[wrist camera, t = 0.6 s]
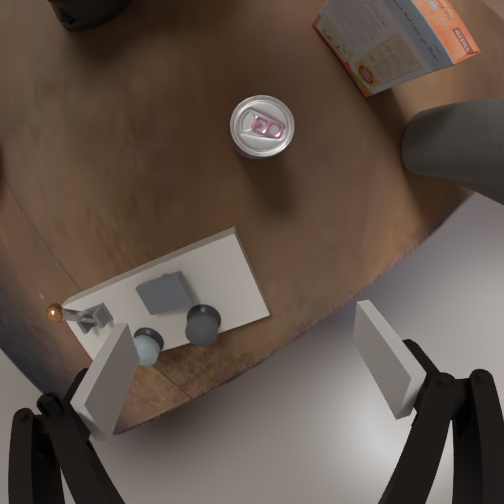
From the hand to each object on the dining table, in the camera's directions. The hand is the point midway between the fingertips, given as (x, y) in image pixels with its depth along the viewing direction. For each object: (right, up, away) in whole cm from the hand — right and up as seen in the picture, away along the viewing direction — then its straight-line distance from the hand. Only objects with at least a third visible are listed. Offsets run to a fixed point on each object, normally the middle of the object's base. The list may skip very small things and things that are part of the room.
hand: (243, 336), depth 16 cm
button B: (-15, -10, +25) cm, 31 cm away
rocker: (-11, -1, +22) cm, 25 cm away
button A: (-6, -6, +24) cm, 25 cm away
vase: (+27, +21, +23) cm, 41 cm away
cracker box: (+15, +34, +18) cm, 41 cm away
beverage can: (+1, +20, +22) cm, 30 cm away
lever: (-24, -5, +24) cm, 34 cm away
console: (-14, -3, +29) cm, 32 cm away
